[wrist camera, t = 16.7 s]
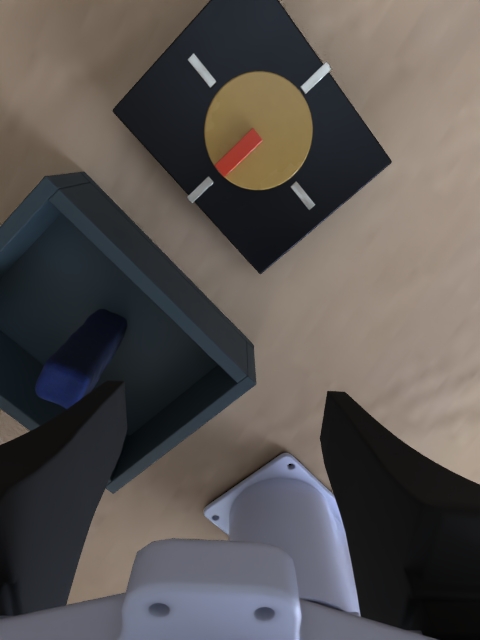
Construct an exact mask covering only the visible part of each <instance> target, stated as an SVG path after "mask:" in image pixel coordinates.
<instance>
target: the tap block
mask: <svg viewBox="0 0 480 640" xmlns="http://www.w3.org/2000/svg"><path fill="white" fill-rule="evenodd" d="M330 70H331V67H330V66H329V65H328V63H327V62H326V63H325V64H323V63H322V62H321V60H320V59H319V57H318V56H317V54H316V53H315V52H314V50H313V49H312V47H311V46H310V45H309V43H308V42H307V40H306V39H305V37H304V36H303V35H302V33H301V32H300V30H299V29H298V28H297V26H296V25H295V23H294V22H293V20H292V19H291V18H290V16H289V15H288V13H287V12H286V11H285V9H284V8H283V6H282V5H281V3H280V2H279V1H278V0H210V1H209V2H208V3H207V5H206V6H205V7H204V8H203V9H202V10H201V11H200V12H199V14H198V15H197V16H196V17H195V18H194V19H193V20H192V21H191V23H190V24H189V25H188V26H187V27H186V28H185V29H184V30H183V31H182V33H181V34H180V35H179V36H178V37H177V38H176V39H175V40H174V42H173V43H172V44H171V45H170V46H169V47H168V48H167V49H166V50H165V52H164V53H163V54H162V55H161V56H160V57H159V58H158V59H157V61H156V62H155V63H154V64H153V65H152V66H151V67H150V68H149V70H148V71H147V72H146V73H145V74H144V75H143V76H142V77H141V78H140V80H139V81H138V82H137V83H136V84H135V85H134V86H133V87H132V89H131V90H130V91H129V92H128V93H127V94H126V95H125V96H124V97H123V99H122V100H121V101H120V102H119V103H118V104H117V105H116V106H115V108H114V109H113V112H114V114H115V115H116V116H117V117H118V118H119V119H120V120H121V121H122V122H123V123H124V125H125V126H126V127H127V128H128V129H129V130H130V131H131V132H132V133H133V135H134V136H135V137H136V138H137V139H138V140H139V141H140V142H141V143H142V144H143V146H144V147H145V148H146V149H147V150H148V151H149V152H150V153H151V154H152V156H153V157H154V158H155V159H156V160H157V161H158V162H159V163H160V164H161V165H162V167H163V168H164V169H165V170H166V171H167V172H168V173H169V174H170V175H171V176H172V178H173V179H174V180H175V181H176V182H177V183H178V184H179V185H180V186H181V188H182V189H183V190H184V191H185V192H186V193H187V194H188V195H189V196H188V197H187V198H188V199H189V201H190V202H191V203H193V202H195V203H196V204H197V205H198V206H199V207H200V208H201V210H202V211H203V212H204V213H205V214H206V215H207V216H208V217H209V218H210V220H211V221H212V222H213V223H214V224H215V225H216V226H217V227H218V228H219V229H220V231H221V232H222V233H223V234H224V235H225V236H226V237H227V238H228V239H229V241H230V242H231V243H232V244H233V245H234V246H235V247H236V248H237V249H238V250H239V252H240V253H241V254H242V255H243V256H244V257H245V258H246V259H247V260H248V261H249V263H250V264H251V265H252V266H253V267H254V268H255V269H256V270H257V271H258V273H259V274H262V273H263V272H264V271H265V270H266V269H268V268H269V267H270V266H271V265H272V264H273V263H275V262H276V261H277V260H278V259H279V258H280V257H282V256H283V255H284V254H285V253H286V252H287V251H289V250H290V249H291V248H292V247H293V246H294V245H296V244H297V243H298V242H299V241H300V240H302V239H303V238H304V237H305V236H306V235H307V234H309V233H310V232H311V231H312V230H313V229H314V228H316V227H317V226H318V225H319V224H320V223H321V222H323V221H324V220H325V219H326V218H327V217H329V216H330V215H331V214H332V213H333V212H334V211H336V210H337V209H338V208H339V207H340V206H341V205H343V204H344V203H345V202H346V201H347V200H348V199H350V198H351V197H352V196H353V195H354V194H356V193H357V192H358V191H359V190H360V189H361V188H363V187H364V186H365V185H366V184H367V183H368V182H370V181H371V180H372V179H373V178H374V177H375V176H377V175H378V174H379V173H380V172H381V171H383V170H384V169H385V168H386V167H387V166H388V165H390V164H391V162H392V161H391V159H390V158H389V157H388V155H387V154H386V152H385V151H384V149H383V148H382V147H381V145H380V144H379V142H378V141H377V140H376V138H375V137H374V135H373V134H372V132H371V131H370V130H369V128H368V127H367V125H366V124H365V123H364V121H363V120H362V118H361V117H360V115H359V114H358V113H357V111H356V110H355V108H354V107H353V106H352V104H351V103H350V101H349V100H348V98H347V97H346V96H345V94H344V93H343V91H342V90H341V89H340V87H339V86H338V84H337V83H336V81H335V80H334V79H333V77H332V76H331V74H330V73H329V71H330ZM253 71H266V72H271V73H275V74H278V75H280V76H282V77H284V78H286V79H287V80H289V81H290V82H291V83H292V84H293V85H295V86H296V87H297V89H298V90H299V91H300V92H301V94H302V95H303V97H304V98H305V100H306V102H307V104H308V107H309V110H310V113H311V117H312V125H313V134H312V142H311V146H310V150H309V153H308V155H307V157H306V159H305V161H304V163H303V164H302V166H301V167H300V169H299V170H298V171H297V172H296V173H295V174H294V175H293V176H292V177H291V178H290V179H289V180H287V181H286V182H284V183H282V184H281V185H278V186H276V187H273V188H270V189H265V190H250V189H245V188H242V187H239V186H237V185H235V184H233V183H231V182H230V181H228V180H227V179H226V178H224V177H223V176H222V175H221V174H220V173H219V172H218V170H217V169H216V168H215V166H214V165H213V163H212V161H211V159H210V157H209V154H208V152H207V148H206V144H205V137H204V127H205V119H206V114H207V111H208V108H209V106H210V104H211V102H212V100H213V98H214V97H215V95H216V94H217V92H218V91H219V90H220V89H221V88H222V87H223V86H224V85H225V84H226V83H227V82H229V81H230V80H231V79H233V78H235V77H237V76H239V75H241V74H244V73H247V72H253Z"/></svg>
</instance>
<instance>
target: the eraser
mask: <svg viewBox="0 0 480 640" xmlns="http://www.w3.org/2000/svg"><path fill="white" fill-rule="evenodd" d="M126 329H127V320H126V319H125V318H124V317H122V316H120V315H118V314H116V313H112V312H110V311H108V310H106V309H99V310H97V311H95V312H94V313H93V314H91V315H90V316H89V317H88V318H87V319H86V321H85V322H84V324H83V325H82V326H80V327H79V328H78V329H77V331H76V332H74V333H73V334H72V335H71V336H70V337H69V339H68V340H67V341H66V342H65V343H64V344H63V345H62V346H61V347H60V348H59V349H58V350H57V351H56V352H55V353H54V354H53V355H51V356H50V357H49V358H48V359H47V361H46V362H45V364H44V366H43V369H42V371H41V373H40V375H39V377H38V379H37V382H36V386H35V391H36V394H37V395H38V396H39V397H40V398H42V399H44V400H47V401H50V402H53V403H56V404H58V405H61V406H63V407H64V408H66V409H68V408H69V407H71V406H72V405H74V404H75V403H76V402H78V401H79V400H81V399H82V398H83V397H85V396H86V395H87V394H89V393H90V392H91V391H92V390H93V388H94V387H95V385H96V384H97V382H98V380H99V378H100V376H101V374H102V373H103V371H104V370H105V369H106V367H107V366H108V364H109V363H110V362H111V360H112V358H113V356H114V354H115V353H116V351H117V349H118V348H119V346H120V344H121V342H122V340H123V338H124V335H125V332H126Z"/></svg>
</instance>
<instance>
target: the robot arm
mask: <svg viewBox="0 0 480 640" xmlns="http://www.w3.org/2000/svg"><path fill="white" fill-rule="evenodd" d="M126 432H127V416H126V398H125V381H109V380H107V381H106V382H104V383H103V384H101V385H100V386H98V387H97V388H96V389H94V390H93V391H92V392H90V393H89V394H87V395H86V396H85V397H83V398H82V399H81V400H79V401H78V402H76V403H75V404H74V405H72V406H71V407H69V408H68V409H66V410H65V411H63V412H62V413H60V414H58V415H57V416H55V417H54V418H52V419H51V420H49V421H47V422H46V423H44V424H42V425H41V426H39V427H37V428H35V429H33V430H31V431H30V432H28V433H26V434H24V435H22V436H20V437H18V438H16V439H13V440H11V441H9V442H6V443H4V444H2V445H0V640H480V485H479V484H477V483H475V482H473V481H470V480H468V479H466V478H464V477H462V476H460V475H458V474H456V473H454V472H452V471H450V470H448V469H446V468H444V467H443V466H441V465H439V464H437V463H435V462H433V461H432V460H430V459H428V458H427V457H425V456H423V455H422V454H420V453H419V452H417V451H416V450H414V449H413V448H411V447H410V446H408V445H407V444H405V443H404V442H403V441H401V440H400V439H399V438H397V437H396V436H395V435H393V434H392V433H391V432H390V431H388V430H387V429H386V428H385V427H383V426H382V425H381V424H380V423H379V422H378V421H376V420H375V419H374V418H373V417H372V416H371V415H370V414H369V413H367V412H366V411H365V410H364V409H363V408H362V407H361V406H360V405H359V404H358V403H357V402H355V401H354V400H353V399H352V398H351V397H350V396H349V395H348V394H347V393H345V392H337V391H327V397H326V404H325V410H324V416H323V423H322V429H321V435H320V441H321V447H322V454H323V459H324V464H325V467H326V471H327V474H328V477H329V481H330V484H331V487H332V490H333V493H334V494H333V493H331V492H330V491H329V490H328V489H327V488H326V487H325V486H324V485H323V484H322V483H321V482H320V481H319V480H318V479H317V478H316V477H315V476H314V475H312V474H311V473H310V472H309V471H308V470H307V469H306V468H305V467H304V466H303V465H302V464H301V463H300V462H299V461H298V460H297V459H296V458H294V457H293V456H292V455H291V454H290V453H282V454H281V455H279V456H278V457H276V458H275V459H273V460H272V461H271V462H269V463H268V464H266V465H265V466H263V467H262V468H260V469H259V470H258V471H256V472H255V473H253V474H252V475H250V476H249V477H248V478H246V479H245V480H243V481H242V482H240V483H239V484H237V485H236V486H235V487H233V488H232V489H230V490H229V491H227V492H226V493H225V494H223V495H222V496H220V497H219V498H217V499H216V500H214V501H213V502H212V503H210V504H209V505H207V506H206V507H205V509H204V515H205V517H206V518H208V519H209V520H210V521H211V522H213V523H214V524H215V525H216V526H218V527H219V528H220V529H221V530H223V531H224V532H225V533H226V534H228V535H229V541H224V540H200V539H175V538H172V539H165V540H159V541H153V542H151V543H150V544H148V545H147V546H145V547H144V548H142V549H141V550H140V551H138V552H137V555H136V558H135V561H134V564H133V567H132V571H131V575H130V579H129V582H128V586H127V590H126V593H121V594H117V595H112V596H107V597H102V598H98V599H93V600H88V601H83V602H79V603H74V604H69V605H66V603H67V600H68V596H69V593H70V589H71V586H72V582H73V579H74V575H75V572H76V569H77V565H78V562H79V559H80V555H81V552H82V549H83V546H84V542H85V539H86V536H87V533H88V530H89V527H90V524H91V521H92V518H93V516H94V513H95V511H96V508H97V506H98V504H99V501H100V499H101V497H102V495H103V492H104V490H105V488H106V486H107V483H108V481H109V479H110V477H111V474H112V472H113V470H114V468H115V465H116V463H117V461H118V458H119V456H120V453H121V450H122V447H123V443H124V440H125V436H126ZM290 463H292V464H293V465H288V464H290ZM214 515H217V516H214Z"/></svg>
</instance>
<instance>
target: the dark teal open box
mask: <svg viewBox="0 0 480 640" xmlns="http://www.w3.org/2000/svg"><path fill="white" fill-rule="evenodd" d="M99 309H106V310H108V311H110V312H112V313H116V314H118V315H120V316H122V317H124V318H125V319H126V320H127V329H126V332H125V335H124V338H123V340H122V342H121V344H120V346H119V348H118V349H117V351H116V353H115V354H114V356H113V358H112V360H111V362H110V363H109V364H108V366H107V367H106V369H105V370H104V371H103V373H102V374H101V376H100V378H99V380H98V382H97V384H96V385H95V387H94V388H93V390H94V389H96V388H97V387H98V386H100V385H101V384H103V383H104V382H106V381H107V380H109V381H125V398H126V416H127V432H126V436H125V440H124V443H123V447H122V450H121V453H120V456H119V458H118V461H117V463H116V465H115V468H114V470H113V472H112V474H111V477H110V479H109V481H108V483H107V486H106V489H107V490H109V491H110V492H111V493H115V492H116V491H118V490H119V489H120V488H122V487H123V486H124V485H125V484H127V483H128V482H129V481H131V480H132V479H133V478H135V477H136V476H137V475H138V474H140V473H141V472H142V471H144V470H145V469H146V468H148V467H149V466H150V465H152V464H153V463H154V462H155V461H157V460H158V459H159V458H161V457H162V456H163V455H165V454H166V453H167V452H169V451H170V450H171V449H172V448H174V447H175V446H176V445H178V444H179V443H180V442H182V441H183V440H184V439H185V438H187V437H188V436H189V435H191V434H192V433H193V432H195V431H196V430H197V429H199V428H200V427H201V426H202V425H204V424H205V423H206V422H208V421H209V420H210V419H212V418H213V417H214V416H216V415H217V414H218V413H219V412H221V411H222V410H223V409H225V408H226V407H227V406H229V405H230V404H231V403H232V402H234V401H235V400H236V399H238V398H239V397H240V396H242V395H243V394H244V393H246V392H247V391H248V390H249V389H251V388H252V387H253V386H255V385H256V372H255V358H254V345H253V344H252V343H251V342H250V341H249V340H248V339H247V338H246V337H245V336H244V335H243V334H242V333H241V332H240V331H239V329H238V328H237V327H236V326H235V325H234V324H233V323H232V322H231V321H230V320H229V319H228V318H227V317H226V316H225V315H224V314H223V313H222V312H221V311H220V310H219V309H218V308H217V307H216V306H215V305H214V304H213V303H212V302H211V301H210V300H209V299H208V298H207V297H206V296H205V295H204V294H203V293H202V292H201V291H200V290H199V289H198V288H197V287H196V285H195V284H194V283H193V282H192V281H191V280H190V279H189V278H188V277H187V276H186V275H185V274H184V273H183V272H182V271H181V270H180V269H179V268H178V267H177V266H176V265H175V264H174V263H173V262H172V261H171V260H170V259H169V258H168V257H167V256H166V255H165V254H164V253H163V252H162V251H161V250H160V249H159V248H158V247H157V246H156V245H155V244H154V243H153V241H152V240H151V239H150V238H149V237H148V236H147V235H146V234H145V233H144V232H143V231H142V230H141V229H140V228H139V227H138V226H137V225H136V224H135V223H134V222H133V221H132V220H131V219H130V218H129V217H128V216H127V215H126V214H125V213H124V212H123V211H122V210H121V209H120V208H119V207H118V206H117V205H116V204H115V203H114V202H113V201H112V200H111V199H110V197H109V196H108V195H107V194H106V193H105V192H104V191H103V190H102V189H101V188H100V187H99V186H98V185H97V184H96V183H95V182H94V181H93V180H92V179H91V178H90V177H89V176H88V175H87V174H86V173H85V172H84V171H83V172H76V173H68V174H60V175H51V176H45V177H44V178H43V179H42V180H41V181H40V182H39V184H38V185H37V186H36V187H35V188H34V189H33V190H32V191H31V193H30V194H29V195H28V196H27V197H26V198H25V199H24V201H23V202H22V203H21V204H20V205H19V206H18V207H17V208H16V210H15V211H14V212H13V213H12V214H11V215H10V216H9V217H8V219H7V220H6V221H5V222H4V223H3V224H2V225H1V226H0V408H1V409H2V410H3V411H5V412H6V413H7V414H9V415H10V416H11V417H13V418H14V419H15V420H16V421H18V422H19V423H20V424H22V425H23V426H24V427H26V428H27V429H28V430H30V431H31V430H33V429H35V428H37V427H39V426H41V425H42V424H44V423H46V422H47V421H49V420H51V419H52V418H54V417H55V416H57V415H58V414H60V413H62V412H63V411H65V410H66V408H64V407H63V406H61V405H58V404H56V403H53V402H50V401H47V400H44V399H42V398H40V397H39V396H38V395H37V394H36V391H35V386H36V382H37V379H38V377H39V375H40V373H41V371H42V369H43V366H44V364H45V362H46V361H47V359H48V358H49V357H50V356H51V355H53V354H54V353H55V352H56V351H57V350H58V349H59V348H60V347H61V346H62V345H63V344H64V343H65V342H66V341H67V340H68V339H69V337H70V336H71V335H72V334H73V333H74V332H76V331H77V329H78V328H79V327H80V326H82V325H83V324H84V322H85V321H86V319H87V318H88V317H89V316H90V315H91V314H93V313H94V312H95V311H97V310H99ZM93 390H92V391H93ZM92 391H91V392H92Z"/></svg>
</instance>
